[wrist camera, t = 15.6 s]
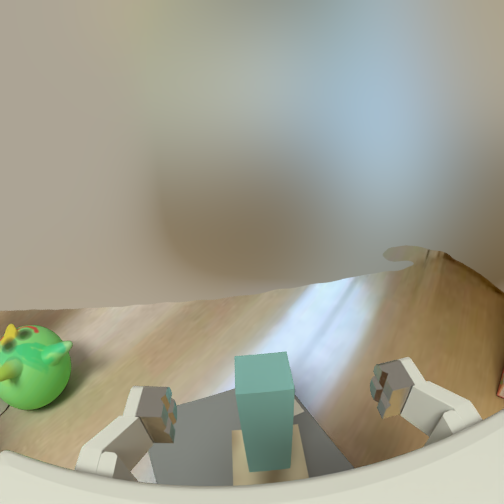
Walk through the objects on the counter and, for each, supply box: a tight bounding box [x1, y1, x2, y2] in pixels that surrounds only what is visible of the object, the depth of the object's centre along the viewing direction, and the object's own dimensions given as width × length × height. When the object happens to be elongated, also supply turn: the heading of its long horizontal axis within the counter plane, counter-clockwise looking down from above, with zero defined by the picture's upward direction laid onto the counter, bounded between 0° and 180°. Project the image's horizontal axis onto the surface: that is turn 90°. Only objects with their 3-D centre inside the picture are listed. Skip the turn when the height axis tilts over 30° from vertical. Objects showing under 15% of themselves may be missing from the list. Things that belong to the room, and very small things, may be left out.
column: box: [235, 352, 295, 472], centre depth 29 cm, size 5×5×16 cm
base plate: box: [148, 389, 354, 486], centre depth 35 cm, size 24×22×3 cm
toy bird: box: [0, 324, 73, 410], centre depth 40 cm, size 18×17×15 cm
